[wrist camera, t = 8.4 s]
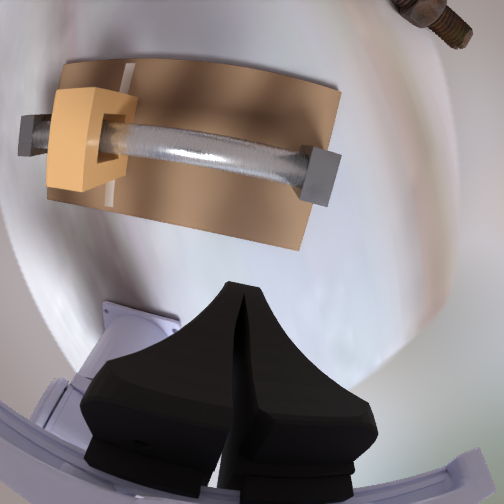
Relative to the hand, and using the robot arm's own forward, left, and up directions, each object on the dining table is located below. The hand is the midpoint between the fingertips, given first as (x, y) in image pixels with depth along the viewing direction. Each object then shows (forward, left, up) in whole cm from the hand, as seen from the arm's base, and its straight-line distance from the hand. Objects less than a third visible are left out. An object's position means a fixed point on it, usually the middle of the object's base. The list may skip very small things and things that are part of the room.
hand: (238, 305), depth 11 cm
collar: (+5, +11, -9) cm, 15 cm away
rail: (+5, +7, -10) cm, 13 cm away
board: (+5, +7, -10) cm, 13 cm away
